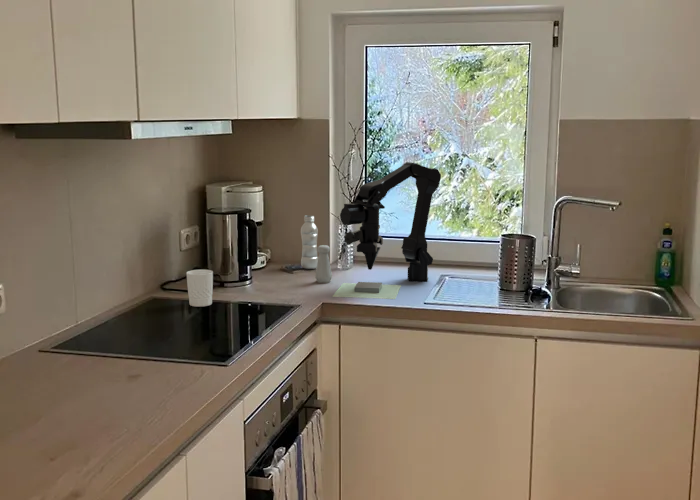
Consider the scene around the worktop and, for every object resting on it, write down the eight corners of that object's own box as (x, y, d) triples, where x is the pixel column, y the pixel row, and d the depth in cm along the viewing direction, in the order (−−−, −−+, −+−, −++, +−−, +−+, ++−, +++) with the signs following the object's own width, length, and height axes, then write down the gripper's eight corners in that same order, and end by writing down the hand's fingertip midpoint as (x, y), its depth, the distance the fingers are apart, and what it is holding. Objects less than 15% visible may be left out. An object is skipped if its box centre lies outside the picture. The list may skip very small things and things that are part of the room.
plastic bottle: (318, 270, 280) (318, 217, 277) (300, 270, 280) (299, 217, 277) (319, 267, 287) (318, 215, 283) (301, 267, 287) (301, 215, 283)
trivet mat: (401, 286, 254) (401, 285, 254) (395, 300, 235) (395, 299, 235) (343, 284, 257) (343, 283, 257) (332, 297, 238) (332, 296, 238)
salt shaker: (331, 284, 257) (331, 247, 254) (314, 284, 257) (314, 247, 254) (332, 281, 262) (332, 244, 260) (315, 280, 262) (315, 244, 260)
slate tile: (382, 282, 250) (379, 288, 242) (382, 287, 250) (378, 293, 243) (358, 281, 251) (354, 287, 244) (358, 286, 252) (354, 292, 244)
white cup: (185, 302, 232) (184, 270, 230) (210, 300, 235) (209, 268, 233) (190, 308, 224) (189, 275, 223) (216, 305, 228) (215, 273, 226)
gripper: (351, 218, 258) (350, 263, 260) (341, 225, 239) (340, 273, 242) (383, 219, 256) (382, 264, 258) (375, 226, 238) (375, 275, 240)
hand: (369, 269), depth 250 cm, fingers closed
